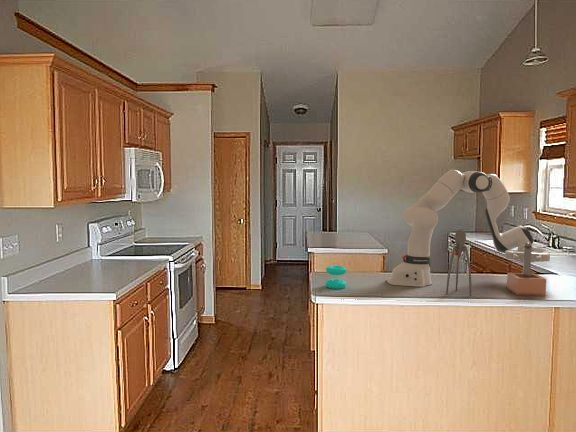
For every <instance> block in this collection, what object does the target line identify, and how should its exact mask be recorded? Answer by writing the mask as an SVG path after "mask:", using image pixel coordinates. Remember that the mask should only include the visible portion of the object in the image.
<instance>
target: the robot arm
mask: <svg viewBox="0 0 576 432" xmlns="http://www.w3.org/2000/svg"><path fill="white" fill-rule="evenodd" d="M459 191H461V192H465V193H470V194H482V195H483V197H484V199H485V201H486V207H485V209H484V213H485V216H486V221H487V224H488V227H489V230H490V234H491V235H492V241H493V242H492V243H493V247H494V249H495V250H496V251H497V252H499V253H503V254H504V258H505V259H507V260H508V259H509V260H519V261H520V262H522V263H524V245H525V243H527V242H529V243H531V246H532V250H531V263H536V262H540V263H543V262H544V263H545V262H546V263H549V262H550V259H551V254H550V252H549V251H547V249H546V248H542V247H536V246H534V245H533V244H534V239H533V236H532V234H531V232H530V231H529V229H528V228H527V227H525V226H523V225H518V226H515V227H513V228H511V229H509V230H508V229H507V231H504V232H500V230H499V228H498V227H499V226H498V224H497V218H498V217H499V216H500V215H501V214H502V213H503V212H504V211H505V210H506V209H507V208H508V206H509V204H510V201H511V198H510V194H509V192H508V190H507V188H506V186H505V184H504V183H503V182H502V180H501V179H500V178H499V176H498V175H496V174H495V173H487V174H486V173H485V172H482V171H475V170H468V171H467V170H463V171H459V170H457V169H449V170H448V171H447V172H446V173H444V174H443V175H442V176H440V178H439V179H438V180H437V181H436V182H434V184H433V185H432V186H431V188H430V189H429V190H428V191H427V192H426V193H425V194H424V195H423V196H421V197H420V198H419V199H418V200H416V201H415V202H414V203H413V204H411V205H410V206H408V207H406V208H405V209H404V211H403V214H402V218H403V220H404V222H405V223H406V224H407V225H408V226H410V227H412V230H411V233H410V235H409V237H408V240H407V254H406V255H405V254H402V255H400V256H401V259H403V260H402V262H401V263H400V264H398V265H397V266H395V267H394V268H393V269H392V270H391V276H389V277H387V278H386V282H387V284H389V285H392V286H403V287H420V288H423V287H426V286H431V285H432V284H433V282H432V277H431V264H432V263H431V262H432V259H431V257H432V256H431V242H432V241H431V240H432V237H433V232H434V229H435V227H436V226H437V225H438V223H439V215H438V213H437V212H438V211H440V210H441V209H443V208H445V207H446V206H447V205H448V203H449V202H450V201H451V200H452V199H453V198H454V197H455V195H457V193H458V192H459Z"/></svg>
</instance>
